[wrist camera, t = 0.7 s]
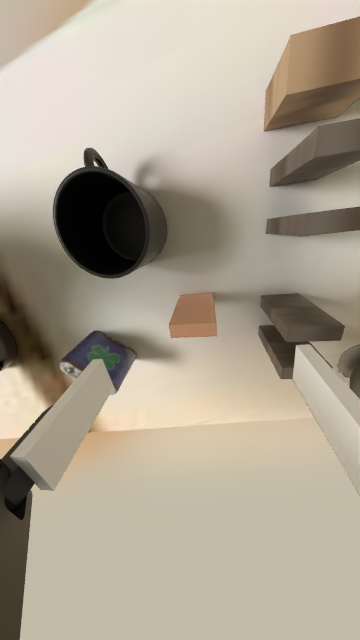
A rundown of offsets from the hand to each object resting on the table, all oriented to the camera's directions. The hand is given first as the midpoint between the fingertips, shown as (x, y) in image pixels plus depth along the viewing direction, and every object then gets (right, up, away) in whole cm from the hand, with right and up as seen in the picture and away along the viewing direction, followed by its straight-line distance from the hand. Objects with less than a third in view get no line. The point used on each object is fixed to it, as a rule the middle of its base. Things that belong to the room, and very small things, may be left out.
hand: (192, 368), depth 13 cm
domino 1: (+2, +7, +16) cm, 17 cm away
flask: (-13, -1, +22) cm, 26 cm away
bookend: (+11, +25, +6) cm, 28 cm away
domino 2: (+12, +20, +8) cm, 24 cm away
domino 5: (+14, +2, +17) cm, 22 cm away
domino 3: (+13, +15, +10) cm, 22 cm away
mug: (-8, +17, +12) cm, 22 cm away
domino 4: (+14, +6, +14) cm, 21 cm away
